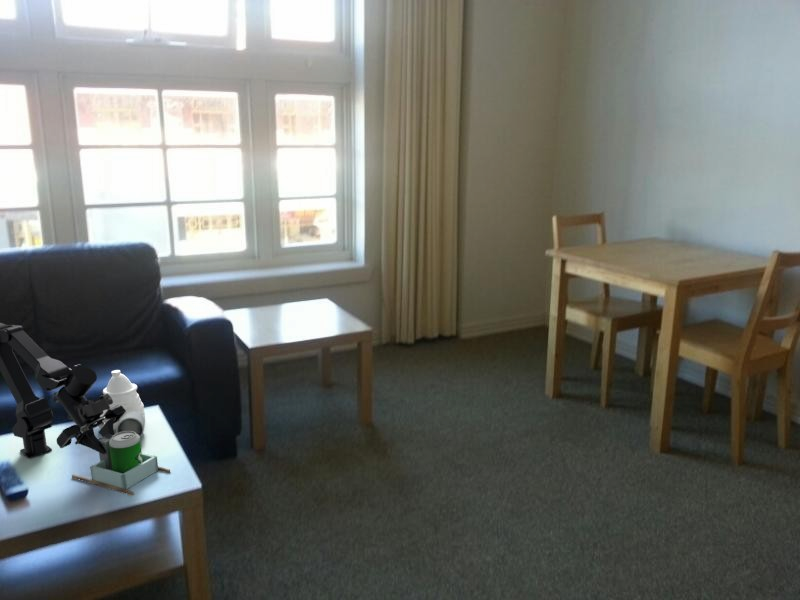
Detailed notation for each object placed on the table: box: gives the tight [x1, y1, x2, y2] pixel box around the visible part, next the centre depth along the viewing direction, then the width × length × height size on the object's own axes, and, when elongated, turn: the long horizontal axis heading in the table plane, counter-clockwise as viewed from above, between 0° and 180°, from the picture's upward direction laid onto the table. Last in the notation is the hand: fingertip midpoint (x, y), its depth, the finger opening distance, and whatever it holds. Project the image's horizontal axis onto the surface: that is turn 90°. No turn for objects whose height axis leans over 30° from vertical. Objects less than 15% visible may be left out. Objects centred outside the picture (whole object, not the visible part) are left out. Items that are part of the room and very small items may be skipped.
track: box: [71, 465, 171, 496], centre depth 177 cm, size 22×13×1 cm, turn 65°
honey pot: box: [100, 369, 146, 429], centre depth 208 cm, size 13×13×18 cm
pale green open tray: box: [89, 434, 159, 490], centre depth 176 cm, size 13×12×10 cm
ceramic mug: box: [114, 411, 146, 438], centre depth 199 cm, size 11×8×8 cm
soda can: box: [109, 431, 143, 474], centre depth 175 cm, size 8×8×12 cm
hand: (111, 450), depth 177 cm, fingers open, 3 cm apart
